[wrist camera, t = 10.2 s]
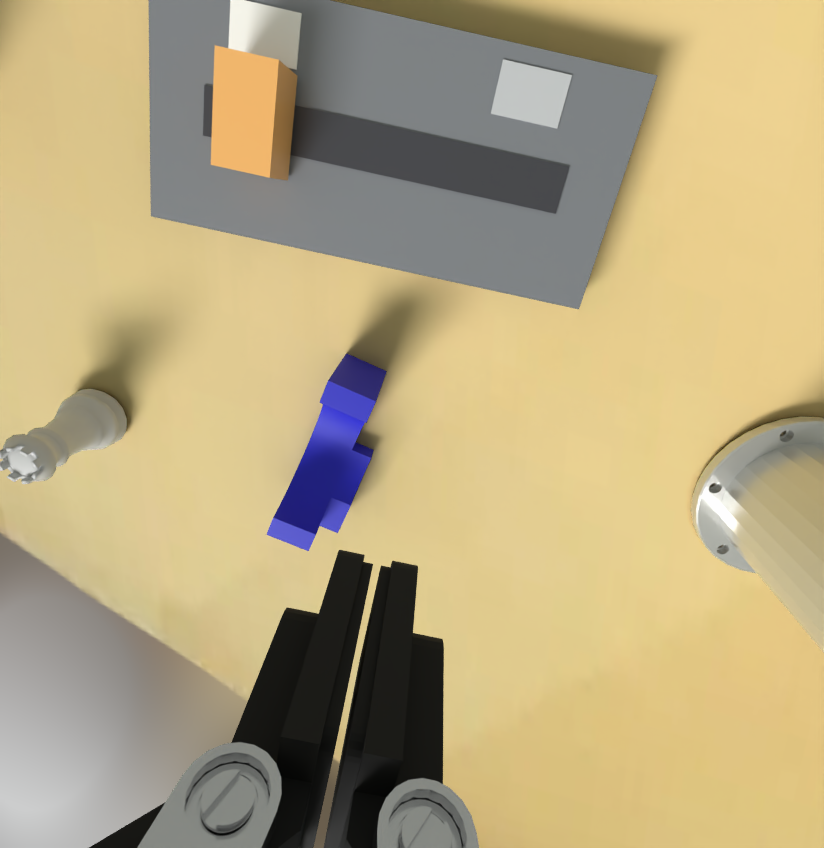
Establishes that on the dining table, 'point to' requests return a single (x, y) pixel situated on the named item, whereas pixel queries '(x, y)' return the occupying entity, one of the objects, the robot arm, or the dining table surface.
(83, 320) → the dining table surface
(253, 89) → the switch knob
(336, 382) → the blue curved stepped piece
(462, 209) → the switch panel
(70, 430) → the rook chess piece
